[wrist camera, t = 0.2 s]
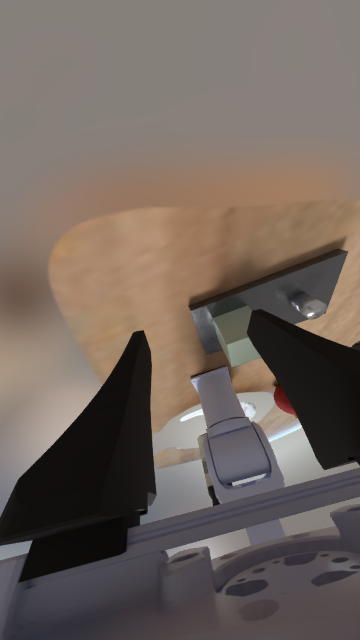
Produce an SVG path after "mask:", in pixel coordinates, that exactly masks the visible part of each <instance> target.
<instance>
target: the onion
mask: <svg viewBox="0 0 360 640" xmlns="http://www.w3.org/2000/svg"><path fill="white" fill-rule="evenodd" d="M274 400H275V403H276V404H277V406H278V407H279V408H280V409H282V410H283V411H285V412H287V413H289V414H293V415H295V417H296V418H298V417H297V415H296V413H295V411H294V409H293V407H292V405H291V404H290V402H289V400H288V398H287V396H286V394H285V393H284V391H283V389H282V387H281V386H280V385H277V386H276V389H275V392H274Z"/></svg>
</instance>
